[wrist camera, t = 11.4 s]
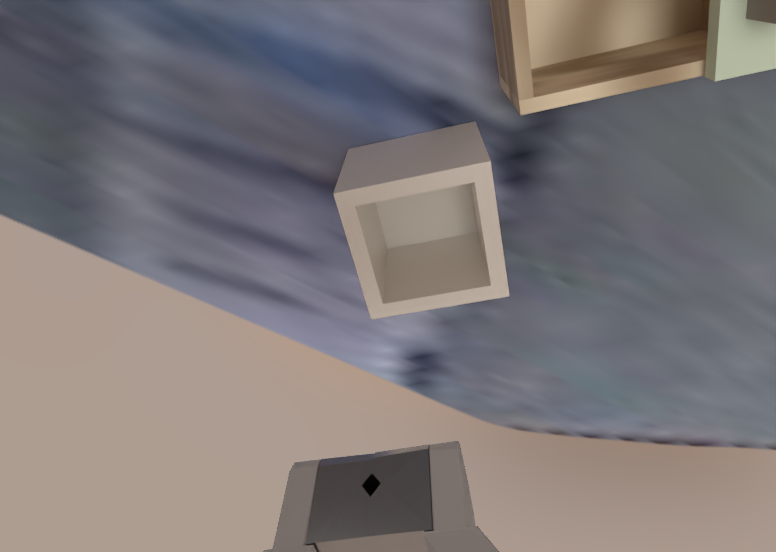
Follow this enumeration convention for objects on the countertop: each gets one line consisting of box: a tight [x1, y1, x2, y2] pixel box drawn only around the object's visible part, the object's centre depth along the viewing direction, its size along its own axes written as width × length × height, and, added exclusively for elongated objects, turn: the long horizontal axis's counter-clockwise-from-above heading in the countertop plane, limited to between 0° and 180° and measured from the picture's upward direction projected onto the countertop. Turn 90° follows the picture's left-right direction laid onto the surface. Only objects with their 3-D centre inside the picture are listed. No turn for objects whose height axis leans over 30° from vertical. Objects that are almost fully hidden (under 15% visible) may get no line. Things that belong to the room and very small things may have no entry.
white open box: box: [333, 121, 509, 320], centre depth 28 cm, size 7×7×6 cm
